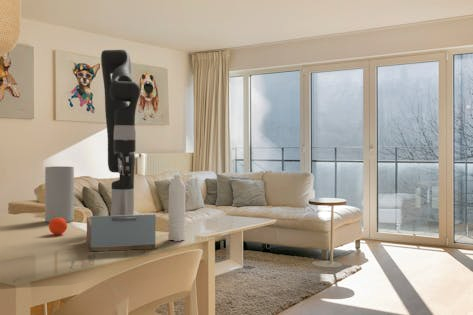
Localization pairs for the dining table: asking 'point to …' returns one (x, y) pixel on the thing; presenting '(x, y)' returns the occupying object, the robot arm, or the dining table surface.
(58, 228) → the clementine
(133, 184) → the robot arm
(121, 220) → the rectangular panel
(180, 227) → the water bottle
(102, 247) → the crate
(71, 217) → the cylinder vase
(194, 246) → the dining table surface
